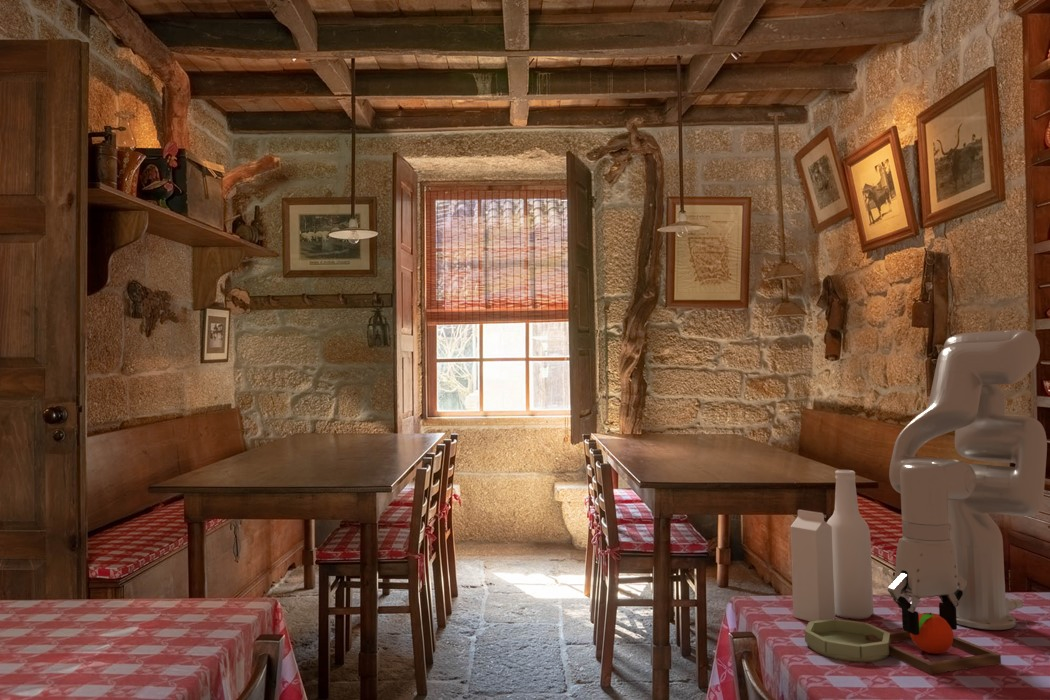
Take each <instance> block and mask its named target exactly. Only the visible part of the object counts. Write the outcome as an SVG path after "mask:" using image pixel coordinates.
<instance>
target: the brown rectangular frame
mask: <svg viewBox="0 0 1050 700" xmlns="http://www.w3.org/2000/svg"><path fill="white" fill-rule="evenodd" d="M888 632H889V633H890V645H889V656H891V657H893V658H895V659H897V660H899V661H902V662H903V663H906V664H908V665H910V666H912V667H914V668H916V669H918V670H920V671H923V672H925V673H927V674H929V675H936V674H942V673H948V672H947V671H950V672H955V671H954V670H956V671H960V670H959V669H963V670H967V669H966V668H969V669H974V667H976V668H981V666H982V667H987V666H994V665H999V664H1000V665H1001V663H1002V660H1001V659H1002V658H1001V657H1002V655H1001V654H999V653H997V652H995V651H992V650H989V649H987V648H985V647H982V646H980V645H978V644H975V643H972V642H970V641H967V640H964V639H962V638H960V637H957V636H954V635H953V643H952V645H953V646H952V647H954V646H955V647H954V648H956V647H957V648H956V649H959V648H960V649H959V650H961V649H962V650H961V651H963V650H964V651H963V652H966V651H967V653H968V652H969V654H970V656H963V657H958V658H949V659H945V660H937V661H932V662H931V661H928V660H925V659H924V658H921V657H919V656H917V655H915V654H914V653H911V652H909V651H906V650H904V649H902V648H900V647H897V646H895V645H893V644H891V643H896V642H897V643H898V642H904V641H903V640H905V641H911V639H912V638H911V636H910V633H909V632H907V631H904V630H903V629H902V630H895V631H888ZM866 640H869V641H871V642H873V643H875V642H882V640H880V639H878V638H876V636H874V635H866ZM975 655H976V656H975ZM972 667H973V668H972Z"/></svg>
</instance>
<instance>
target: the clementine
mask: <svg viewBox="0 0 1050 700" xmlns="http://www.w3.org/2000/svg"><path fill="white" fill-rule="evenodd" d="M918 615H919V634H918V635H914V634H911V633H910V636H911V638H912V642H913V644H914V645H915V646H916V647H917V648H919V649H920V650H922V652H926V653H928V654H932V655H935V654H937V655H939V654H943V653H944V652H947V651H948V650H949V649H950V648H951V645H952V643H953V636H954V633H953V630H952V629H951V627H950V625H949V624H948V623H947V621H946V620H945V619H943V618H942V617H941V616H939V614H937V613H933V612H922V613H920V614H918Z"/></svg>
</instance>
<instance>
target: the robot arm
mask: <svg viewBox="0 0 1050 700" xmlns="http://www.w3.org/2000/svg"><path fill="white" fill-rule="evenodd" d="M943 344H944V345H943V348H942V350H941V351H940V352H939V354H938V356H937V359H936V366H935V368H934V369H935V370H934V376H933V380H932V384H931V389H930V393H929V394H930V395H929V400H928V405H927V407H926V409H925V410H923V411H922V412H920V413H919V414H918V415H916V416H915V417H914V418H913V419H912V420H911V421H910V422H908V424H907V425H906V426H905V427H904V428H903V429H902V430H901V431H900V432H899V434H898V435H897V437H896V440H895V442H894V446H893V451H892V455H891V460H890V464H889V472H888V475H889V482H890V486H891V487H892V488H893V490H895V491H896V493H899V494H900V505H901V508H900V509H901V528H902V529H901V530H902V531H901V532H902V537H900V538H899V539H898V542H897V546H896V554H895V570H894V571H895V574H894V575H895V576H894V578H895V579H894V581H893V582H892V583H891V584H890V585H889V586H888V588H887V591H888V593H889V594H890V596H891V597H892V598H893V601H894V602H895V603H896V604H897V606H898V608H899V609H901V616H902V617H901V619H902V620H901V621H902V626H901V627H902V630H904V631H907V632H909V633H911V634H914V635H918V634H919V615H920V614H919V612H918V611H916V609H917V607H918V605H919V602H920V600H921V599H924V598H933V597H938V598H939V599H940V600H941V602H939V604H938V610H939V611H938V615H939V616H941V617H942V618H943V619H945V620H946V621H947V623H948V624H949V625H950V627H951V629H952V631H953V630H955V631H956V630H957V629H958V627H957V626H958V625H960V626H963V627H968V628H974V629H978V630H979V629H980V630H989V631H990V630H991V631H1002V630H1010V629H1013V628H1015V627H1016V625H1017V623H1016V622H1017V620H1016V618H1015V617H1014V616H1013V615H1011V614H1010V612H1011V611H1012V610H1015V609H1016V610H1017V609H1022V608H1023V607H1024V602H1023V600H1022V599H1020V598H1019V597H1017V598H1011V599H1009V598H1007V597H1006V584H1005V583H1006V582H1005V563H1004V562H1005V561H1004V559H1005V558H1004V539H1003V534H1002V531H1001V529H1000V527H999V526H998V525H997V523H996V522H995V521H994V520H993V518H992V517H991V516H990V514H998V515H1007V516H1015V517H1034V516H1036V515H1038V514H1039V512H1040V511H1041V510H1042V507H1043V502H1044V494H1045V484H1046V483H1045V481H1046V467H1047V457H1048V456H1047V454H1048V452H1047V451H1048V440H1047V435H1046V430H1045V428H1044V426H1043V424H1042V423H1041V422H1040V421H1039V420H1037V419H1036V418H1034V417H1030V416H1023V415H1006V405H1007V396H1006V394H1005V392H1004V390H1003V389H1002V388H1001V387H1000V385H1013V384H1016V383H1018V382H1020V381H1021V380H1023V379H1024V378H1025V377H1026V376H1027V375H1028V374H1030V372H1031V371H1032V370H1033V369H1035V367H1036V365H1037V364H1038V362H1039V359H1040V354H1041V348H1040V343H1039V339H1038V338H1037V336H1036V335H1035V334H1034V333H1032V331H1029V330H1025V329H1014V330H1013V329H1012V330H1009V329H1008V330H996V331H994V330H993V331H990V330H989V331H974V332H973V331H972V332H964V333H959V334H954V335H952V336H950V337H948V338H947V339H946V340H945V342H944V343H943ZM951 432H955V433H954V448H955V451H956V453H957V454H958V456H961V457H963V458H964V459H967V460H974V461H982V462H995V463H1011V464H1015V466H1007V465H1006V466H1004V465H992V464H980V463H967V462H965V461H963V460H958V459H950V458H936V457H924V456H923V457H922V456H916V454H917V452H918V451H919V450H920V449H921V447H922V446H924V444H926V443H927V442H929V441H931V440H934V439H935V438H937V437H940V436H943V435H946V434H948V433H951ZM909 600H910V601H909ZM957 624H958V625H957Z"/></svg>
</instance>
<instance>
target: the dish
mask: <svg viewBox="0 0 1050 700" xmlns="http://www.w3.org/2000/svg"><path fill="white" fill-rule="evenodd" d="M889 632H890V631H887V630H884V629H882V628H879V627H877V626H875V625H873V624H870V623H869V622H862V621H857V620H856V621H855V620H851V619H850V620H849V619H841V618H834V619H826V620H818V621H808V623H807V625H806V628H805V629H804V642H805V643H806V644H807V646H808V648H809V649H811V650H812V651H813V652H816V653H817V654H820V655H822V656H824V657H828V658H831V659H835V660H840V661H845V662H855V663H869V662H870V663H872V662H877V661H878V662H879V661H883V660H885V659H887V658H888V657H889V656H890V655H889V645H890V644H891V643H890V633H889ZM866 635H874V636H876V638H878V639H880V640H882V642H875V643H873V642H871V641H869V640H866Z"/></svg>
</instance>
